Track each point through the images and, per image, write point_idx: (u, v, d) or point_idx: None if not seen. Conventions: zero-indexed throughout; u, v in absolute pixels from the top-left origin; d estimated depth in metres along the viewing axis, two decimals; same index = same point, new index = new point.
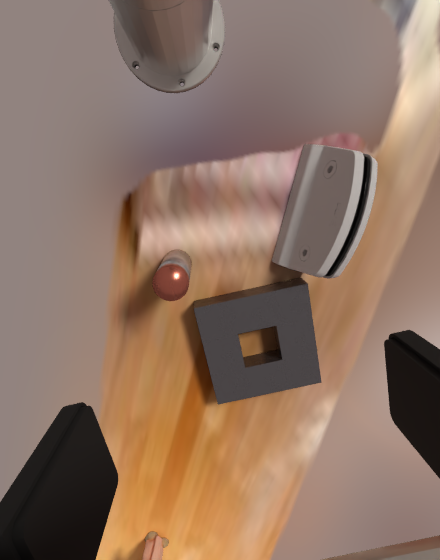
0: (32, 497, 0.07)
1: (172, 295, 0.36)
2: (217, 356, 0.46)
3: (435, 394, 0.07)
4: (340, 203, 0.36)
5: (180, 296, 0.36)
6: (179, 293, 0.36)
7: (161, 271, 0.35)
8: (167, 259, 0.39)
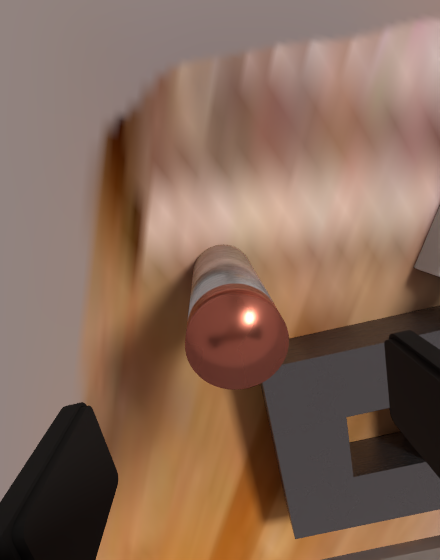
0: (32, 497, 0.07)
1: (240, 375, 0.13)
2: (302, 458, 0.23)
3: (435, 394, 0.07)
4: None
5: (263, 377, 0.13)
6: (261, 371, 0.13)
7: (212, 310, 0.12)
8: (214, 269, 0.16)
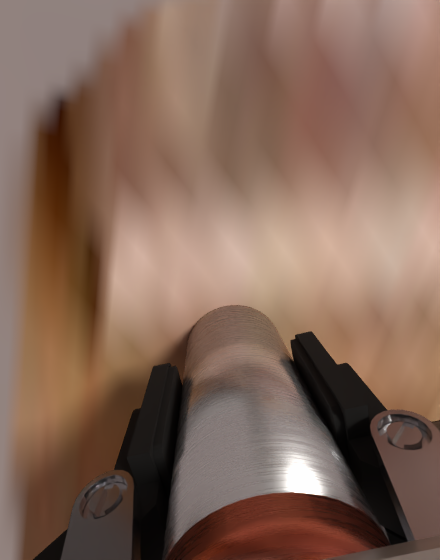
0: (159, 429, 0.08)
1: None
2: None
3: (312, 387, 0.09)
4: None
5: None
6: None
7: None
8: (226, 393, 0.07)
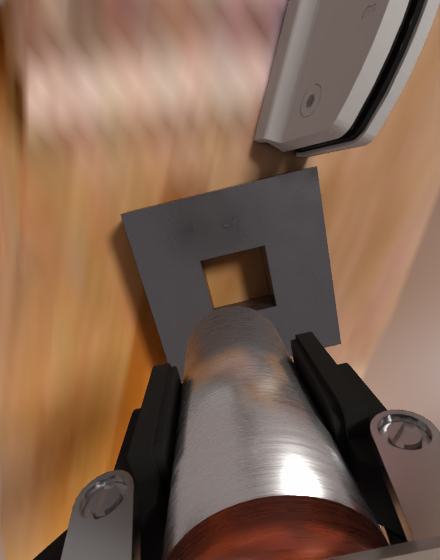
0: (159, 429, 0.08)
1: None
2: (168, 300, 0.28)
3: (312, 387, 0.09)
4: None
5: None
6: None
7: None
8: (225, 395, 0.07)
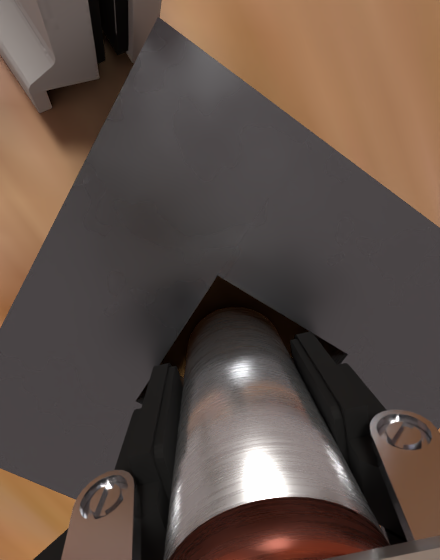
0: (160, 428, 0.08)
1: None
2: None
3: (312, 387, 0.09)
4: None
5: None
6: None
7: None
8: (226, 396, 0.07)
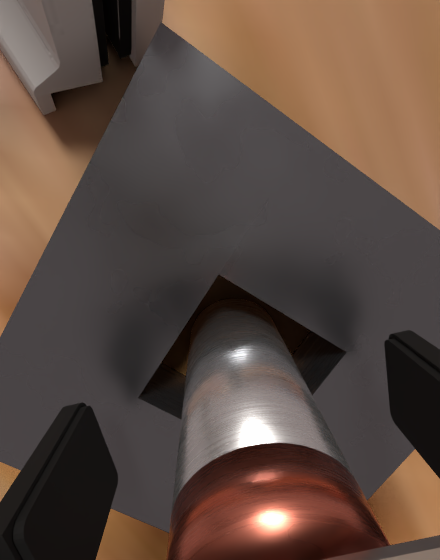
0: (32, 497, 0.07)
1: None
2: (157, 491, 0.13)
3: (435, 394, 0.07)
4: None
5: None
6: None
7: (227, 552, 0.05)
8: (225, 371, 0.09)
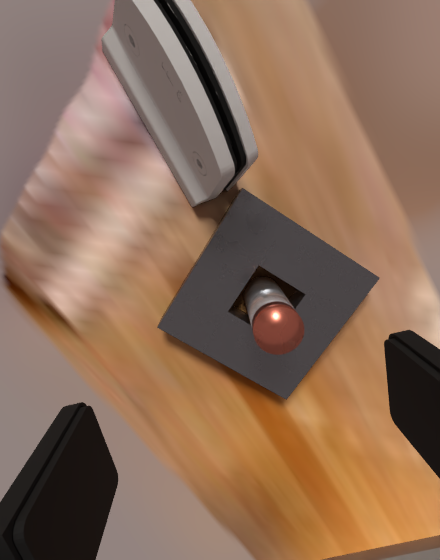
0: (32, 497, 0.07)
1: (280, 347, 0.25)
2: (232, 352, 0.33)
3: (435, 394, 0.07)
4: (162, 62, 0.22)
5: (291, 348, 0.25)
6: (291, 345, 0.25)
7: (267, 314, 0.25)
8: (263, 293, 0.29)
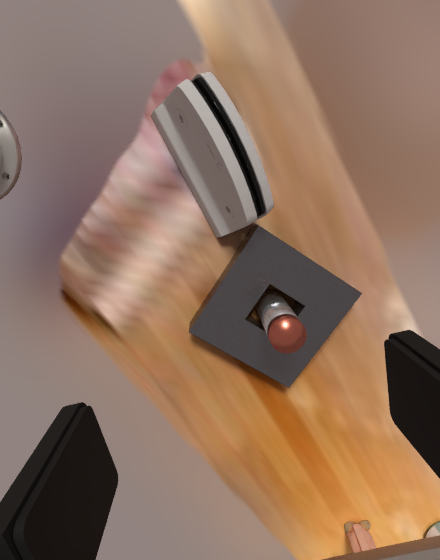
0: (32, 497, 0.07)
1: (288, 347, 0.34)
2: (247, 350, 0.42)
3: (435, 394, 0.07)
4: (208, 142, 0.31)
5: (297, 348, 0.34)
6: (296, 346, 0.34)
7: (280, 324, 0.34)
8: (274, 306, 0.38)
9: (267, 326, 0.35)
